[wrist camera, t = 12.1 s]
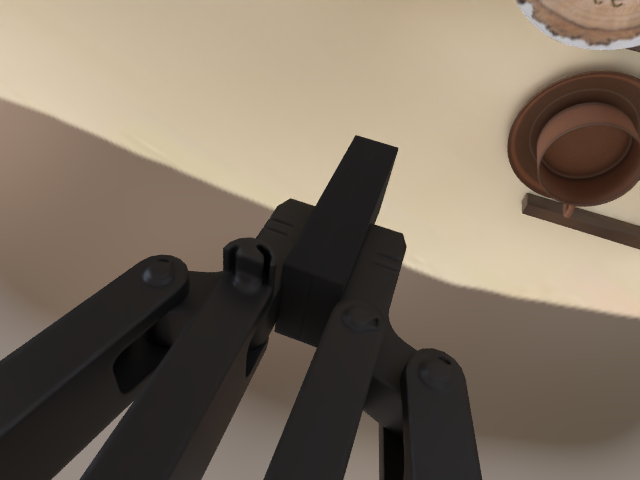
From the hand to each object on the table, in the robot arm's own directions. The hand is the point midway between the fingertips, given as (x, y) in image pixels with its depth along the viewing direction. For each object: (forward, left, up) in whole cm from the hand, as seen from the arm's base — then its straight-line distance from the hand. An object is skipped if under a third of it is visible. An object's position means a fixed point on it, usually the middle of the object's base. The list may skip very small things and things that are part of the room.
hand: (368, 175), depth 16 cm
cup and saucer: (+15, -8, -29) cm, 33 cm away
